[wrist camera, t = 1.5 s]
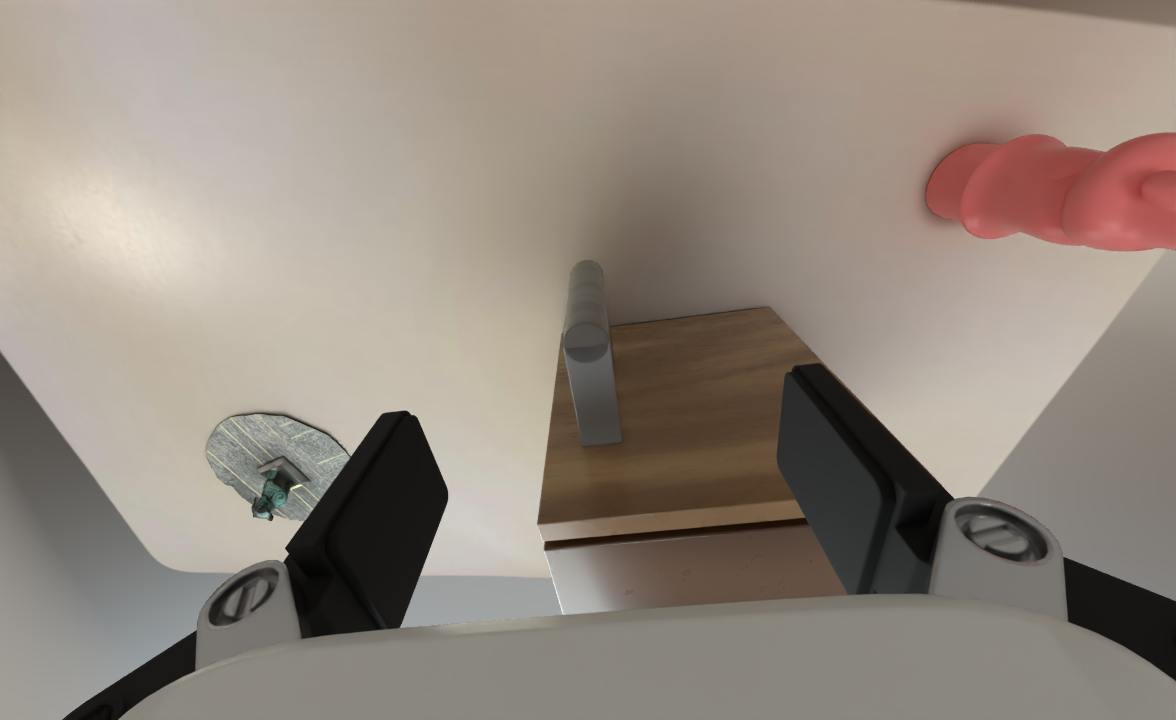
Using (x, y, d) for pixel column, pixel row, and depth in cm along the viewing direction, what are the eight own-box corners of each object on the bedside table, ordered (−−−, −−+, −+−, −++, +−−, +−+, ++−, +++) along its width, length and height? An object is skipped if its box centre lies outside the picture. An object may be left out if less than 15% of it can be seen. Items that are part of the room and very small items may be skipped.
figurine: (1035, 133, 23) (1623, 151, 10) (983, 229, 25) (1397, 344, 12) (944, 124, 23) (1423, 129, 10) (901, 222, 25) (1235, 330, 12)
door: (545, 247, 26) (496, 389, 12) (777, 214, 25) (1004, 329, 11) (563, 345, 29) (541, 542, 16) (768, 320, 28) (935, 506, 15)
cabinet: (564, 347, 30) (542, 550, 16) (767, 322, 29) (937, 515, 15) (588, 472, 35) (587, 699, 22) (757, 455, 34) (871, 681, 21)
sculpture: (337, 533, 40) (231, 576, 33) (301, 456, 43) (198, 481, 36) (378, 460, 34) (261, 495, 28) (334, 378, 37) (219, 391, 31)
